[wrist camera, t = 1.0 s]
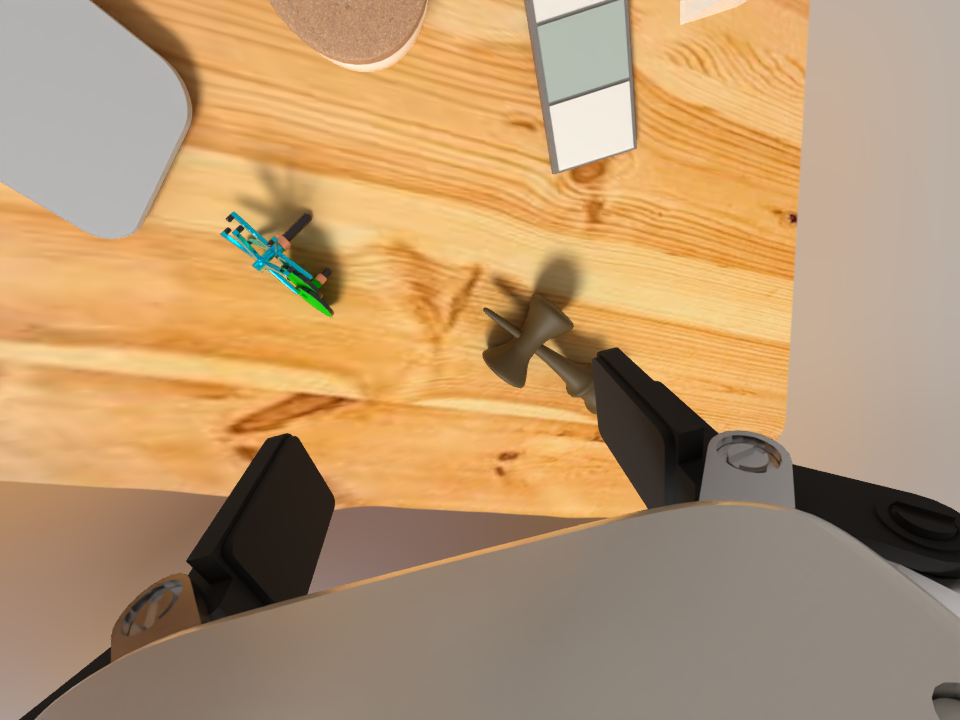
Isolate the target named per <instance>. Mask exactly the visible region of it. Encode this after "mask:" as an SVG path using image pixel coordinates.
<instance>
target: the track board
mask: <svg viewBox="0 0 960 720" xmlns="http://www.w3.org/2000/svg"><path fill="white" fill-rule="evenodd" d="M524 3H525V9H526V15H527V21H528V27H529V33H530V40H531V46H532V52H533V58H534V64H535V70H536V77H537V83H538V89H539V95H540V101H541V107H542V114H543V120H544V126H545V132H546V138H547V145H548V151H549V157H550V163H551V169H552V174H557V173H560V172H563V171H566V170H570V169H573V168H576V167H579V166H582V165H586V164H589V163H592V162H595V161H598V160H602V159H605V158H608V157H611V156H614V155H618V154H621V153H624V152H627V151H630V150H634V149H637V143H636V126H635V110H634V94H633V77H632V61H631V45H630V28H629V12H628V0H524Z"/></svg>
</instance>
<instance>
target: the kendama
mask: <svg viewBox="0 0 960 720" xmlns="http://www.w3.org/2000/svg"><path fill="white" fill-rule="evenodd" d="M483 311H484V312H485V313H486V314H487V315H488V316H489V317H490V318H491V319H493V320H494V321H495V322H496V323H498V324H499V325H500V326H502V327H503V328H504V329H505V330H507V331H508V332H509V333H511V334H512V335H513V336H514V337H513V338H512V339H511V340H510V341H509V342H507V343H505V344H502V345H499V346H496V347H493V348H490V349H487V350H485V351H484V352H483V359H484V361H485V363H486V364H487V365H488V367H489V368H490V369H491V370H492V371H493V372H494V373H495V374H496V375H497V376H498V377H500V378H501V379H502V380H504V381H505V382H506V383H508V384H510V385H512V386H514V387H517V388H522V387H523V386H524V385H525V382H526V375H527V368H528V363H529V360H530V358H531V357H532V356H533V354H534V353H535V354H536V355H538V356H539V357H540V358H541V359H542V360H543V361H544V362H546V363H547V364H548V365H549V366H550V367H551V368H552V369H553V370H554V371H555V372H556V373H557V374H558V375H559V376H560V377H561V378H562V379H563V380H564V382H565V383H566V389H567V392H568V394H570V395H571V396H572V397H581V398H582V399H583V400H584V401H585V405H586V407H587V409H588V410H589V411H590V412H591V413H593V414H597V408H596V398H595V388H594V378H593V368H592V364H590V363H586V364H583V365H582V364H578V363H576V362H574V361H572V360H570V359H568V358H566V357H564V356H562V355H560V354H558V353H556V352H555V351H553V350H551V349H549V348H548V347H546V346H544V345H543V343H545V342H546V341H547V340H549V339H551V338H553V337H555V336H558V335H560V334H563V333H565V332H567V331H570V330H571V329H572V328H573V323H572V321H571V320H570V319H569V318H568V317H567V316H566V315H565V314H564V313H563V312H562V311H561V310H560V309H559V308H557V307H556V306H555V305H554V304H552V303H551V302H550V301H549V300H547V299H546V298H544V297H543V296H541V295H538V294H534V295H532V298H531V301H530V306H529V311H528V315H527V319H526V321H525V323H524V325H523V327H522V328H521V329H519V328H517V327H516V326H514V325H513V324H511V323H510V322H508V321H507V320H505V319H504V318H502V317H501V316H499V315H498V314H496V313H495V312H493V311H492V310H490V309H488V308H484V309H483Z"/></svg>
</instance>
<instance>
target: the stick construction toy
mask: <svg viewBox="0 0 960 720" xmlns="http://www.w3.org/2000/svg"><path fill="white" fill-rule="evenodd" d="M233 219H235V220H237V221H238V222H239V223H240V224H241V225H242V226H241V225H240V226H238V227H237V228H236V229H235V230H234V231H233V232H232V234H233V235H234V236H235V237H236V238H237V239H238V240H239V242H240V243H239V242H238V241H236V240H235V239H234V238H232V237H231V236H229V235H228V234H229V233H230V232H231V231H232V230H231V229H230V228H228V227H227V228H226V229H225V230H224V231H223V232H222V233H221V234H220V235H221V236H222V237H224V238H225V239H226V240H228V241H229V242H231V243H232V244H233V245H235V246H236V247H237V248H239V249H240V250H242V251H243V252H244V253H246V254H247V255H248V256H250V257H251V258H253V259H254V260H255V262H254V263H253V264H252V266H253V267H254V268H255V269H256V270H258V271H260V272H262V273H263V272H264V271H265V270H266V269H267V270H268V271H269V272H270V273H271V274H273V275H274V276H275V277H276V278H277V279H279V280H280V281H281V282H282V283H283V284H285V285H286V286H287V287H288V288H289V289H290V290H292V291H293V292H294V293H295V294H297V295H298V294H299V295H300V296H301V297H302V298H303V299H305V300H306V301H307V302H308V303H309V304H311V305H312V306H313V307H315V308H316V309H318V310H319V311H321V312H322V313H324V314H325V315H327V316H329V317H331V318H332V316H333V315H334V312H333V310H332V309H331V308H330V307H329V306H328V305H327V304H326V303H325V302H324V301H323V300H322V299H321V298H322V297H323V294H322V292H321V291H320V290H319V288H320V287H321V286H322V285H323V284H324V283H325V282H326V281H327V277H328V276H329V275H330V274H331V271H330V270H329V269H325V270H324V271H323V272H322V274H320V273H319V274H318V275H317V276H316V277H315V278H314V280H313V281H312V282H310V280H311V279H312V278H313V276H312V275H310V274H309V273H308V272H306V271H305V270H304V269H302V268H301V267H300V266H298V265H297V264H296V263H294V262H293V261H292V260H290V259H289V258H288V257H286V256H285V255H284V254H282V253H283V252H284V251H286V250H287V249H288V248H289V247H290V246H291V244H290V241H291V240H292V239H293V238H294V237H295V236H296V235H297V234H298V233H299V232H300V231H301V230H302V229H303V228H304V227H305V226H306V225H307V224H308V223H309V222H310V221H311V220H312V218H311V217H310V216H309V215H308V214H306V213H305V214H304V215H303V216H301V217H300V218H299V219H298V220H297V221H296V222H295V223H294V224H293V225H292V226H291V227H290V228H289V229H288V230H287V231H286V232H285V233H284V234H283V235H280V234H277V235H276V236H274V237H273V238H272V239H271V240H270V241H269V242H268V241H267V240H265V239H264V238H263V237H262V236H261V235H260V234H259V233H258V232H257V231H255V230H254V229H253V228H252V227H251V226H250V225H249V224H248V223H247V222H245V221H244V220H243V219H242V218H241V217H240V216H239V215H238V214H237V213H235V212H232V213H231V214H230V215H229V216H228V217H227V218H226V220H227V221H228V222H231V221H232V220H233ZM244 228H245V229H246V230H247V231H249V232H250V233H251V234H252V235H253V236H254V237H255V238H256V239H257V240H258V241H257V240H255V239H252V238H250V239H249V240H248V241H246V240H245V239H244V238H243V236H242V235H241V234H240V233H241V232H242V231H243V230H244ZM251 244H254V245H256V246H258V247H260V248H262V249H264V250H266V252H265V253H264V254H262V255H261V256H260V255H259V254H258V253H257V252H256V251H255V249H254V248H253V247H252V246H251ZM274 257H276V259H277V260H278V261H279V262H280V263H281V264H282V266H281V268H280V267H278V266H276V265H274V264H272V263H270V261H271V260H272V259H273V258H274ZM289 265H290V266H289ZM294 269H295V270H294ZM296 270H297V271H298V272H297V271H296ZM299 272H300V273H301V274H302V275H301V274H300V273H299ZM280 274H282V275H284V276H286V277H287V280H289V281H292V282H293V283H294V284H295V285H296V287H294V286H293V285H292V284H291V283H289V282H288V281H287V280H286V279H285V278H284V277H283V276H281V275H280ZM303 275H304V276H305V277H306V278H305V277H304V276H303Z"/></svg>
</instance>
